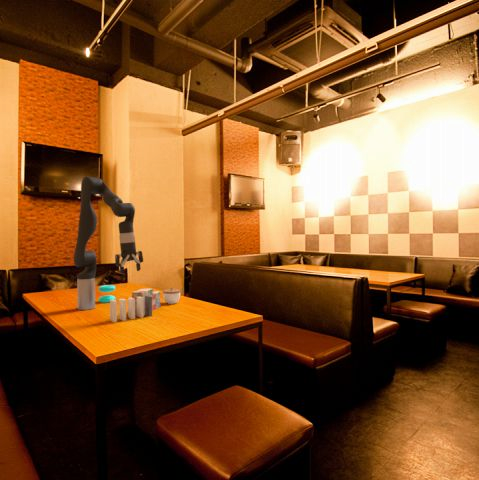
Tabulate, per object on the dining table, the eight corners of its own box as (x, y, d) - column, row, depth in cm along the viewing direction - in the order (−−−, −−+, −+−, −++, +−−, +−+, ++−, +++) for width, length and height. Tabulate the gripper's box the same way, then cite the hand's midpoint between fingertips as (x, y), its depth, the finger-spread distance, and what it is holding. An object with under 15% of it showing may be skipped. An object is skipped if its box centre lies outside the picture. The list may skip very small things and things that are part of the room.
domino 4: (136, 316, 170) (136, 296, 170) (139, 315, 171) (139, 296, 171) (140, 317, 167) (140, 298, 167) (143, 317, 168) (143, 297, 168)
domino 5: (145, 314, 173) (144, 295, 173) (148, 314, 174) (147, 295, 174) (149, 316, 169) (148, 296, 169) (152, 315, 170) (151, 296, 170)
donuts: (118, 284, 215) (110, 287, 205) (118, 300, 215) (110, 303, 205) (103, 284, 217) (95, 287, 207) (104, 300, 217) (95, 302, 207)
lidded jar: (160, 302, 206) (160, 287, 206) (175, 300, 212) (175, 286, 212) (167, 305, 197) (167, 289, 197) (183, 303, 204) (183, 288, 204)
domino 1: (110, 320, 162) (109, 300, 162) (113, 319, 163) (113, 299, 163) (113, 322, 158) (113, 301, 158) (116, 321, 159) (116, 301, 159)
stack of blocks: (150, 306, 194) (150, 285, 194) (160, 307, 193) (160, 286, 193) (131, 315, 173) (131, 291, 173) (142, 315, 172) (142, 292, 172)
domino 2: (119, 318, 165) (119, 298, 165) (122, 318, 166) (122, 298, 166) (122, 320, 161) (122, 300, 161) (126, 320, 162) (126, 299, 162)
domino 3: (128, 317, 168) (128, 297, 168) (131, 316, 169) (131, 297, 169) (131, 319, 164) (131, 299, 164) (135, 318, 165) (134, 298, 165)
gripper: (136, 239, 179) (139, 269, 180) (111, 243, 169) (114, 274, 170) (143, 240, 173) (146, 270, 175) (117, 243, 164) (120, 275, 165)
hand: (130, 272), depth 173 cm, fingers open, 8 cm apart
